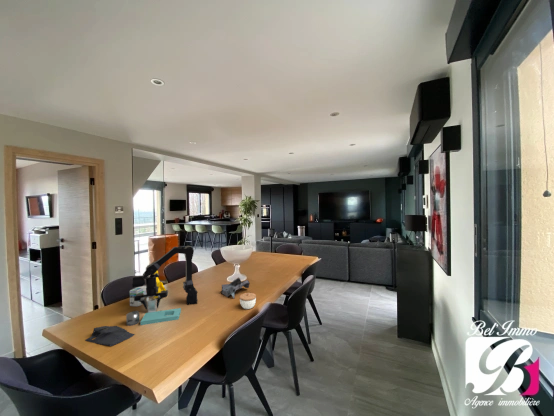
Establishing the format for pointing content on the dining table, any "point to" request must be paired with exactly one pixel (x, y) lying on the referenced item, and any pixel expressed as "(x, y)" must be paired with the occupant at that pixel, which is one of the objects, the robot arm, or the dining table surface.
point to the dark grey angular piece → (234, 287)
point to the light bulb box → (135, 292)
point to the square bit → (152, 305)
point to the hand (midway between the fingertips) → (152, 308)
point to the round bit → (132, 318)
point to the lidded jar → (248, 300)
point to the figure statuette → (159, 285)
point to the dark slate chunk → (109, 335)
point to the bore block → (161, 316)
